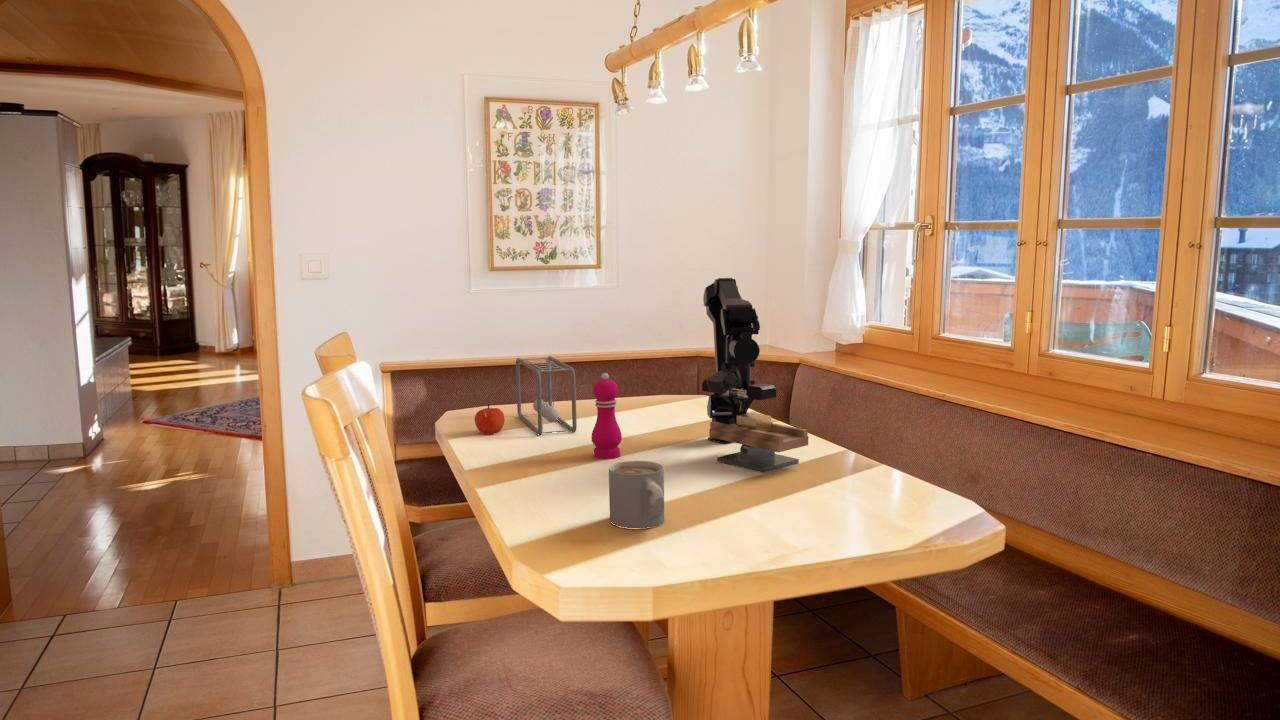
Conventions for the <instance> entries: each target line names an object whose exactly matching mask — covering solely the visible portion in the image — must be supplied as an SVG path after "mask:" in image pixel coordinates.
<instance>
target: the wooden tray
mask: <svg viewBox="0 0 1280 720" xmlns="http://www.w3.org/2000/svg"><path fill="white" fill-rule="evenodd" d="M709 427H710V428H709V430H708V431H709V432H708V433H709V436H708V437H711V438H716V439H720V440H725V441H729V442H730V443H733V444H738V445H742V444H743V445H747V446H752V447H756V448H761V449H765V450H770V451H774V452H775V453H782V452H787V451H790V450H794V449H798V448H801V447H805V446H809V435H808V434H809V433H808V429H806V428H799V427H795V426H789V425H784V424H778V423H774V422H773V421H771V431H769V432H763V431H759V430H754V429H749V427H745V428H744V427H739V426H737V425H736V424H730V425H729V424H724V423H719V422H712V421H710V423H709Z"/></svg>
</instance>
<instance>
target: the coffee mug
mask: <svg viewBox="0 0 1280 720" xmlns="http://www.w3.org/2000/svg"><path fill="white" fill-rule="evenodd" d="M664 467H665V466H664V465H663V464H661V463H658V462H656V461H652V460H651V461H649V460H627V461H620V462H616V463H613V464H611V465H610V466H609V468H608V494H609V495H608V496H609V500H608V501H609V522H610V521H611V522H612V523H613V524H615V525H618V526H621V527H627V528H647V527H654V526H658V525H660V524H662V523H663V522H664V523H665V521H664V520H666V519H665V468H664ZM664 523H663V524H664ZM663 524H662V525H663ZM660 526H661V525H660ZM658 527H659V526H658Z"/></svg>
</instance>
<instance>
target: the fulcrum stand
mask: <svg viewBox="0 0 1280 720" xmlns="http://www.w3.org/2000/svg"><path fill="white" fill-rule="evenodd" d="M739 449H740V450H739V451H737V452H733V453H729V454H725V455H721V456H717V457H716V460H717V462H718V463H720V464H721V463H723V464H726V465H729V466H734V467H739V468H743V469H746V470H751V471H754V472H757V473H758V472H759V473H761V474H764V473H768V472H772V471H776V470H779V469H782V468H786V467H790V466H793V465H798V464H800V463H799V462H800V461H799V460H800V459H799V458H796V457H793V456H787V455H783V454H777V453H776V452H774V451H770V450H765V449H761V448H756V447H752V446H747V445H743V444H740V448H739Z"/></svg>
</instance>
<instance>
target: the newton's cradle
mask: <svg viewBox="0 0 1280 720" xmlns="http://www.w3.org/2000/svg"><path fill="white" fill-rule="evenodd" d="M539 360H543V361H544V363H541V365H540V366H539V365H537V364H535V363H538V361H539ZM520 365H521V366H524V367H526V368H527V369H529V370H530V371H531V375H532V379H533V383H534V384H533V385H534V387H535V391H536V392H535V393H536V399H535V400H534V401H533V403H532V407H533V408H532V409H534V411H535V412H537V414H538V415H537V427H536V426H535V425H534V424H533V423H532V422H531V421H529V420H528V419H527V418H526V417H528V416H527V415H528V414H524V415H523V414H522V398H521V397H522V396H521V392H522V391H521V367H520ZM552 367H554V369H553V368H552ZM562 371H570V380H571V381H570V382H571V386H570V387H571V388H570V389H571V416H572V418H571V420H572V425H571V424H569V423H568V422H566V421H565V420H564V419H563V418H561V417H560V415H559V412H558V410H557V409H555V408H554V406H555V401H553V400H555V399H556V394H554V395H552V394H553V393H552V392H553V387H554V383H552V382H554V381H555V377H552V372H554V373H553V376H555V374H556V372H557V373H559V372H562ZM575 371H576V370H575V369H574V367H572V366H571V365H568V364H567V363H565V362H562V361H560V360H559V359H557V358H555V357H553V356H551V355H549V356H548V357H537V358H519V357H517V358H516V360H515V378H516V379H515V380H516V381H515V382H516V405H517V406H516V407H517V408H516V409H517V417H518V418H519V417H520V418H521V419H522V420H523V421H524V424H526V425H527V426H528V428H530V429H531V430H532V431H533V430H534V431H535V432H536V433H537V434H539V435H538V436H541V435H543V434H542V433H545V434H553V433H552V432H557V433H566V431H568V432H571V431H572V432H571V433H575V432H576V431H577V427H578V426H577V424H578V423H577V391H576V390H577V389H576V387H577V386H576V385H577V384H576V372H575ZM543 372H544V373H543ZM546 372H547V373H546ZM545 373H546V374H545ZM545 375H546V379H545ZM552 378H553V380H552ZM542 379H543V380H542ZM558 379H559V374H557V378H556V380H558ZM535 381H536V383H535ZM546 384H547V385H546ZM557 385H558V381H556V383H555V387H557ZM556 390H557V388H555V389H554V393H556ZM553 396H554V397H553ZM535 414H536V413H535ZM535 414H534V413H533V414H532V415H535ZM524 416H525V417H524ZM520 418H519V419H520ZM521 419H520V420H521ZM543 419H545V420H546V421H547V422H549V423H554V422H557V419H558V420H559V421H560V422H561V423H562V424H564V425H565V426H566V427H567V428H568V429H567V428H566V427H565V426H564V425H563V426H564V427H565V428H566V430H565V429H564V430H555V431H554V430H553V431H543ZM522 420H521V421H522ZM523 421H522V422H523ZM559 421H558V422H559ZM560 422H559V423H560ZM561 423H560V424H561ZM562 424H561V425H562ZM534 431H533V432H534ZM535 432H534V433H535ZM536 433H535V434H536ZM537 434H536V435H537Z"/></svg>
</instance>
